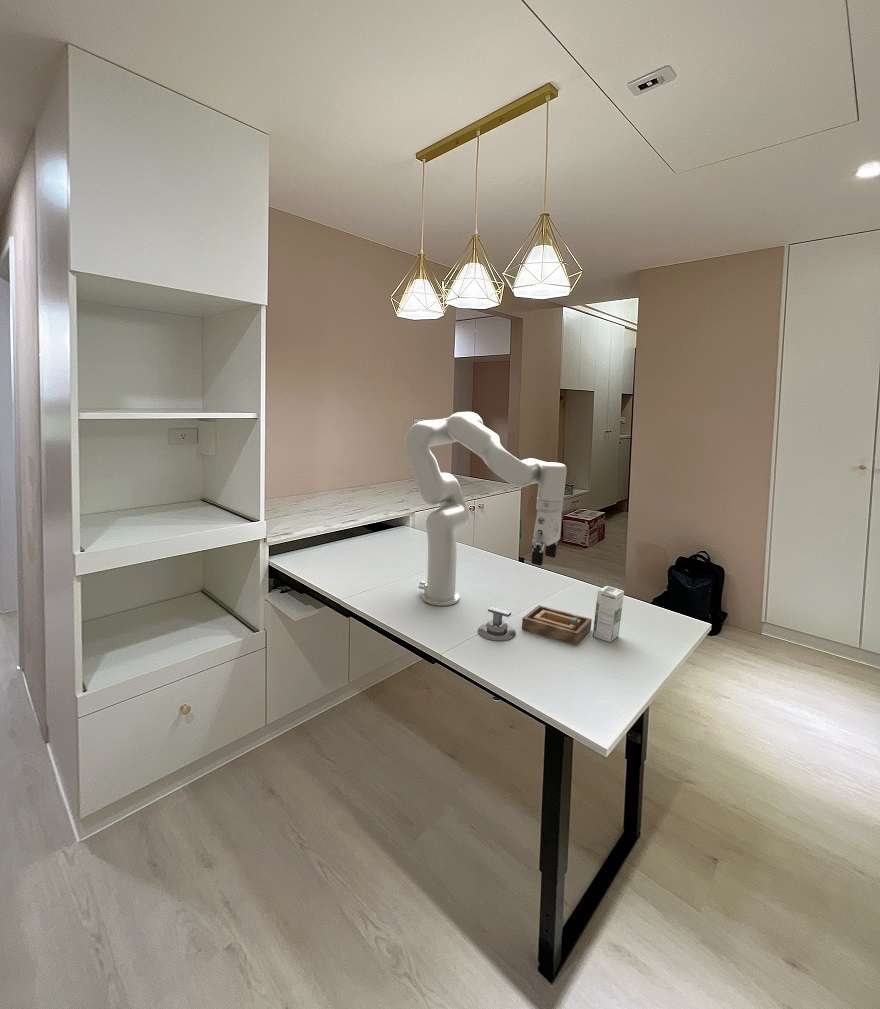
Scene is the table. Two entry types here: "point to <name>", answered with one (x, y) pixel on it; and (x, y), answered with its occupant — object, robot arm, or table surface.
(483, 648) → the table surface
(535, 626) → the tray
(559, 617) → the light wooden frame
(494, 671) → the table surface
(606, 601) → the syrup box
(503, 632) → the door handle
